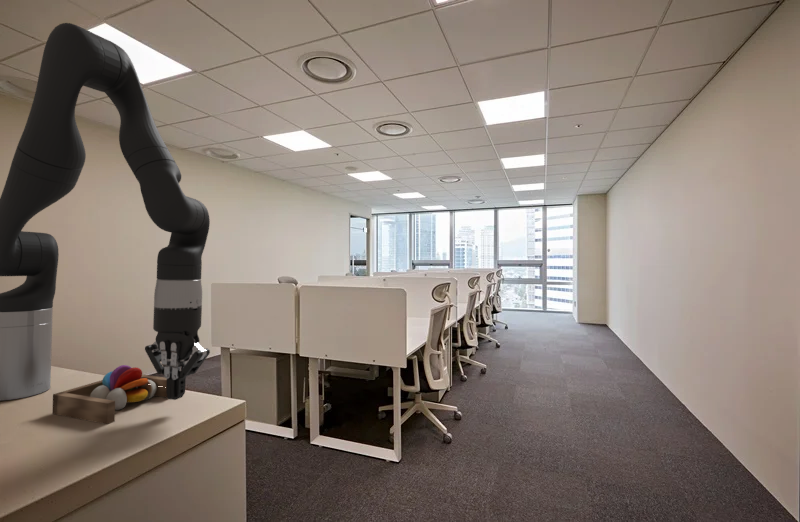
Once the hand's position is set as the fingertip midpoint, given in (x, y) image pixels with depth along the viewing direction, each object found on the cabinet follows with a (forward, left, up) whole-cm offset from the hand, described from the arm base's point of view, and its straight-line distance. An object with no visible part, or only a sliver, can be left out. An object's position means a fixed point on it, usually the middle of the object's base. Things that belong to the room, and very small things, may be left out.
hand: (175, 397), depth 66 cm
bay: (-13, 0, -3) cm, 13 cm away
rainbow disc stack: (-13, +1, -3) cm, 14 cm away
